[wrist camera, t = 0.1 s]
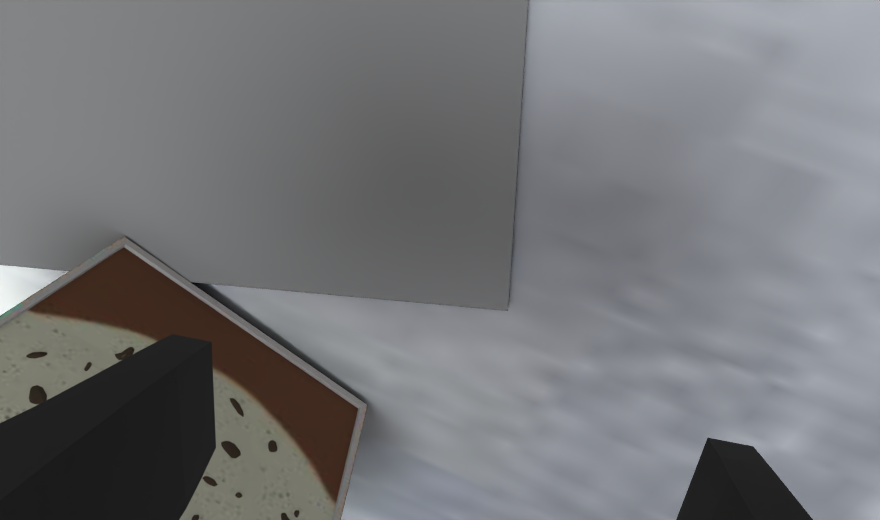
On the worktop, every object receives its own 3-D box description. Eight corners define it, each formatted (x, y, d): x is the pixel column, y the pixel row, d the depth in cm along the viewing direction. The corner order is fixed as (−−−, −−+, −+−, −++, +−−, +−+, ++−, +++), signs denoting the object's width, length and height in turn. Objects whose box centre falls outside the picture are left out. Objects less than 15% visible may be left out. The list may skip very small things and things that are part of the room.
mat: (508, 304, 21) (507, 310, 21) (-84, 251, 24) (-94, 256, 23) (554, -400, 14) (554, -409, 13) (-305, -361, 16) (-324, -367, 16)
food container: (18, 324, 24) (-286, 584, 16) (80, 206, 21) (-255, 450, 13) (309, 511, 27) (183, 823, 18) (402, 429, 24) (303, 759, 15)
